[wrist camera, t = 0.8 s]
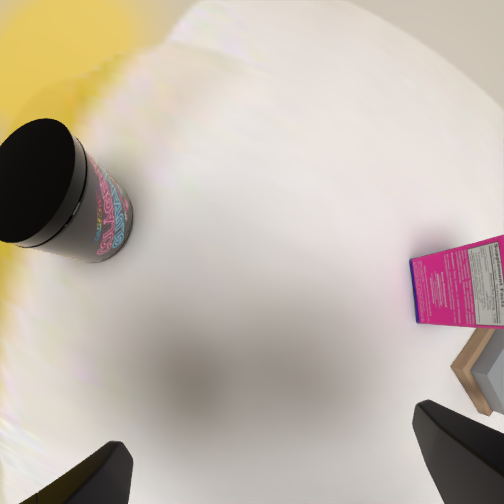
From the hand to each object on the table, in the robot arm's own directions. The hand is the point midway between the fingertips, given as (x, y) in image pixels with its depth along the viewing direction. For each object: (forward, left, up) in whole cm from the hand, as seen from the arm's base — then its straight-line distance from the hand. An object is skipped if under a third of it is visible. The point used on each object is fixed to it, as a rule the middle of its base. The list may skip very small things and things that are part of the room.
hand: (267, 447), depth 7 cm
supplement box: (-8, -16, -15) cm, 23 cm away
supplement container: (+15, +2, -15) cm, 21 cm away
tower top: (-20, -17, -12) cm, 29 cm away
